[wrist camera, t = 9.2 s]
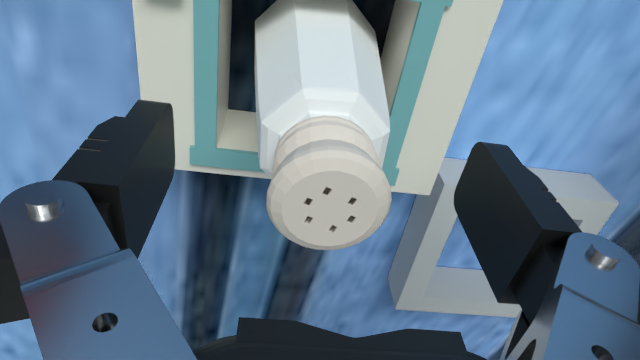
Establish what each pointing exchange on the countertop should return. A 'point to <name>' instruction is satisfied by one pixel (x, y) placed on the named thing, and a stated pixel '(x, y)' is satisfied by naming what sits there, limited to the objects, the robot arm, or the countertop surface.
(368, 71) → the pepper shaker
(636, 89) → the countertop surface
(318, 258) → the countertop surface
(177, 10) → the port
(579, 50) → the countertop surface
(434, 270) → the square picture frame
